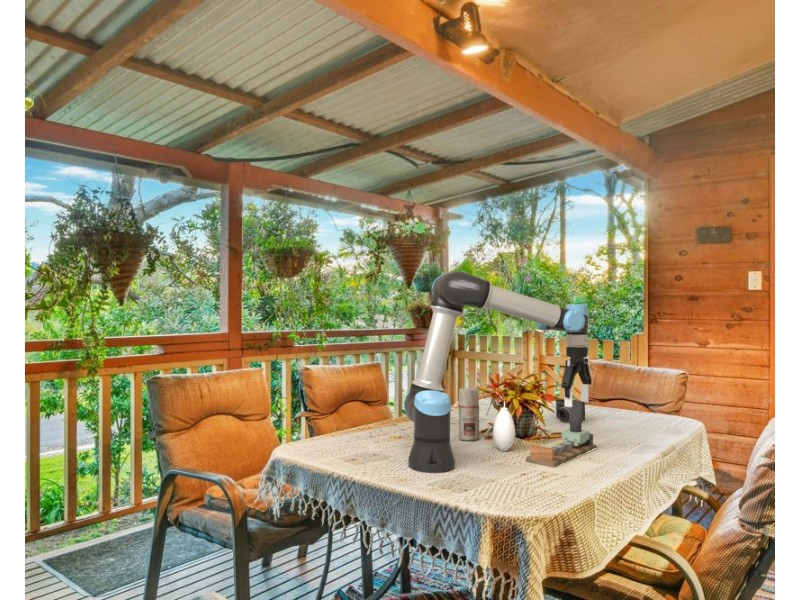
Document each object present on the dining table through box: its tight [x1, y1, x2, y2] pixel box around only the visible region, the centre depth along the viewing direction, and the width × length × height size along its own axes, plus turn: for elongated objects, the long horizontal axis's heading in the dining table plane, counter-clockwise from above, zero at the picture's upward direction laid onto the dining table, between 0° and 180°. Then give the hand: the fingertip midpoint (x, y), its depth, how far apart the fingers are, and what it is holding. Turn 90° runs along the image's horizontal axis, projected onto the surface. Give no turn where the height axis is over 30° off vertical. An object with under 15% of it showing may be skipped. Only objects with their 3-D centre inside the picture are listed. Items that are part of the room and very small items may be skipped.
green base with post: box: [561, 399, 591, 446], centre depth 204 cm, size 8×7×15 cm
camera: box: [555, 398, 586, 423], centre depth 257 cm, size 14×11×10 cm
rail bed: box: [525, 432, 598, 468], centre depth 197 cm, size 34×10×6 cm, turn 138°
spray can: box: [458, 387, 480, 441], centre depth 218 cm, size 8×8×20 cm
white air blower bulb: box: [492, 400, 516, 452], centre depth 202 cm, size 8×8×18 cm
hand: (576, 404), depth 204 cm, fingers open, 13 cm apart
